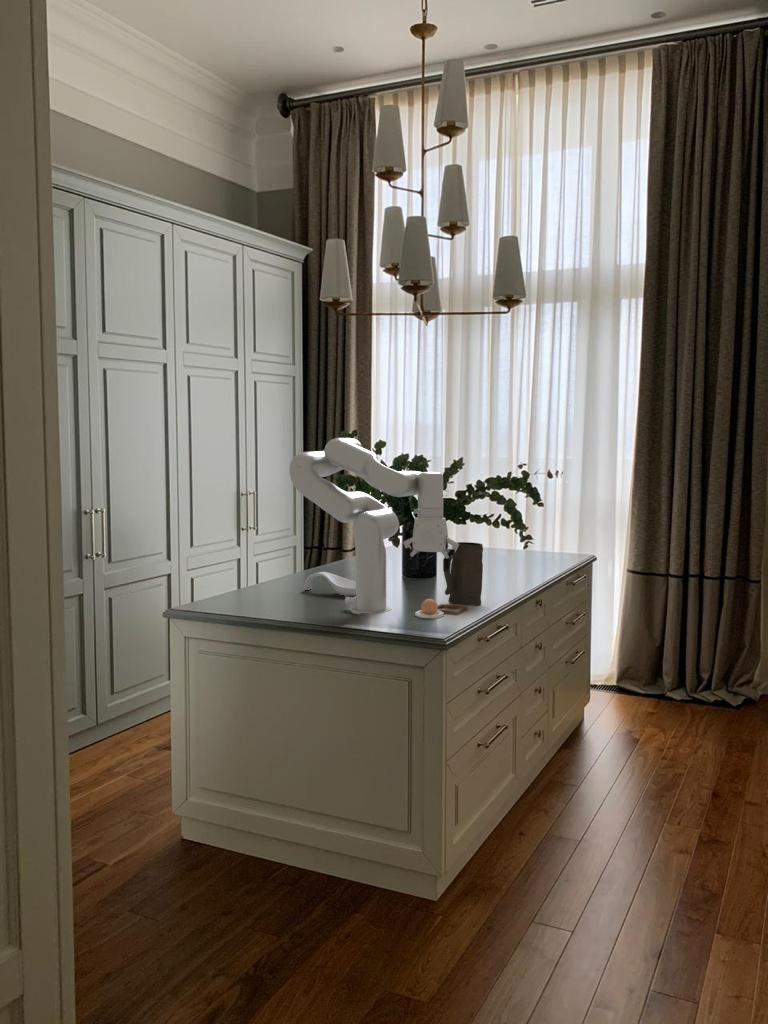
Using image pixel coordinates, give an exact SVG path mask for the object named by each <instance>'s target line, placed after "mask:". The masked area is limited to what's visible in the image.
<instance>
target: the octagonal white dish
mask: <svg viewBox="0 0 768 1024" xmlns="http://www.w3.org/2000/svg"><path fill="white" fill-rule="evenodd" d="M414 614H415V616H416V617H417V618H421V619H440V618H443V616H444V615H445V614H444V612H442V611H439V610H437V612H436V613H435V614H434V615H426V614H424V613H423V612H422V609H420V610H419V609H418V611H415V612H414Z"/></svg>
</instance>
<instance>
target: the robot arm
mask: <svg viewBox="0 0 768 1024" xmlns="http://www.w3.org/2000/svg"><path fill="white" fill-rule="evenodd" d="M378 458H379V457H378V456H377V454H376V453H375V452H373V451H372V450H371V451H370V450H368V449H367V448H364V447H363V445H362V444H361V442H360V441H359V440H358V439H355V438H353V437H352V438H351V437H335V438H332V439H330V440H328V442H327V443H326V445H325V447H324V449H323V450H318V451H317V450H313V451H303V452H299V453H297V454H296V455H294V456H293V457H292V458H291V460H290V463H289V469H288V470H289V477H290V480H291V482H292V484H293V486H294V488H295V489H296V490H297V491H298V493H300V494H301V495H302V496H304V497H305V498H306V499H307V500H309V501H310V502H312V503H314V504H315V505H316V506H318V507H319V508H321V510H323V511H325V512H326V513H327V514H329V515H330V516H331V517H333V518H334V519H336V520H337V521H338V522H340V523H345V524H347V523H353V525H352V535H353V539H354V548H355V549H354V550H355V581H356V596H345V598H344V604H346V605H352V607H351V608H350V613H352V614H354V615H361V614H381V613H386V612H390V611H392V607H391V606H388V605H387V550H386V545H385V542H384V540H385V539H389V538H391V537H393V536H395V534H396V533H397V532H399V531H398V530H399V528H400V522H399V518H398V516H397V514H396V512H394V511H393V510H392V509H390V508H389V507H387V506H386V505H385V504H384V503H382V502H380V501H378V500H377V499H376V498H374V497H373V496H372V495H370V494H368V493H366V492H364V491H359V490H356V491H355V490H354V491H345V490H344V489H342V488H340V486H339V487H338V486H337V485H336V484H334V483H333V482H331V481H330V480H328V479H326V478H324V477H329V476H331V475H333V474H336V473H338V472H340V471H342V470H344V471H347V472H349V473H351V474H353V475H355V476H358V477H360V478H362V479H363V480H364V481H365V482H366V483H367V484H368V485H370V486H371V487H372V488H374V489H376V490H378V491H380V492H383V493H384V494H387V495H389V496H392V497H394V498H395V497H397V498H402V497H410V496H411V497H412V496H416V495H417V508H414V509H413V514H415V515H416V514H417V515H416V516H417V517H415V519H414V524H413V528H412V529H413V531H412V532H413V533H412V537H410V538H408V539H405V540H404V541H403V543H402V544H403V546H404V548H405V551H406V552H407V553H408V554H409V556H410V557H411V567H412V571H416V570H419V569H420V557H419V555H418V554H419V553H420V552H423V553H424V552H426V553H441V554H442V556H443V559H442V560H443V561H442V563H443V564H442V571H443V573H444V572H447V571H449V569H450V570H451V565H450V557H452V555H453V554H454V553H455V552H456V550H457V548H458V546H459V544H458V543H457V541H455V540H453V539H452V538H450V537H449V533H448V532H449V531H448V525H447V521H446V517H444V476H443V474H442V473H441V472H439V471H423V472H422V471H418V470H417V471H416V470H402V471H400V470H399V471H397V470H395V469H393V468H390V467H388V466H386V465H384V464H382V463H381V462H380V461H378V460H379V459H378ZM411 544H412V546H411ZM449 545H451V546H452V547H451V548H450V549H451V550H450V551H449V550H448V549H449Z"/></svg>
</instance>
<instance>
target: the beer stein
mask: <svg viewBox="0 0 768 1024" xmlns="http://www.w3.org/2000/svg"><path fill="white" fill-rule="evenodd" d="M456 542H457V541H456ZM457 543H458V544H459V546H458V548H457V550H456V552H455V553H454V554H453V555H452V557H450V569H449V571H447V572H444V571H443V577H444V579H445V583H446V588H445V590H444V594H445V596H449V597H448V601H447V602H448V604H449V603H450V604H451V605H460V606H480V605H481V604H482V591H483V589H482V588H483V571H484V569H483V568H484V564H483V551H484V545H483V543H480V542H479V543H477V542H470V541H469V542H467V541H460V542H459V541H458V542H457ZM451 549H452V548H448V550H449V551H450V550H451Z"/></svg>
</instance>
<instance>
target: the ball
mask: <svg viewBox="0 0 768 1024" xmlns="http://www.w3.org/2000/svg"><path fill="white" fill-rule="evenodd" d="M438 605H439V604H438V602H436V600H434V599H432V598H427V599H425V600H423V601H422V603H421V607H420V608H421V609H420V610H422V612H423V613H424V614H426V615H434V614H435V613H436V612H437V610H438Z"/></svg>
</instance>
